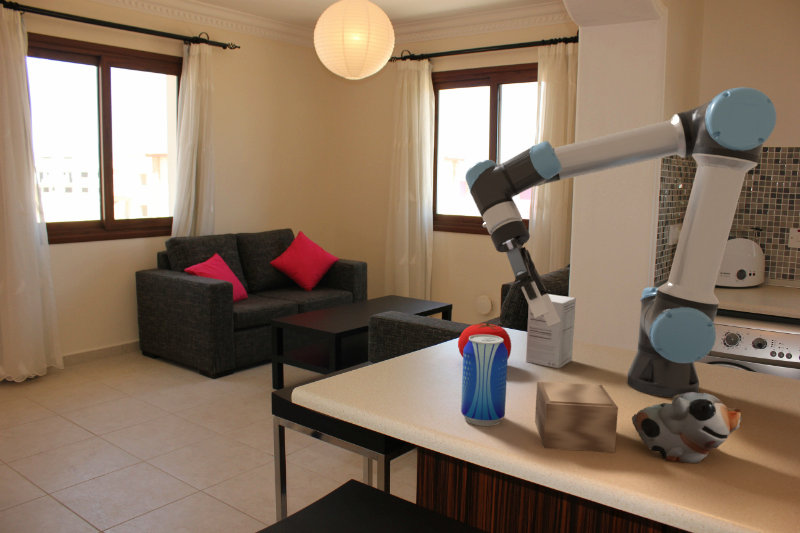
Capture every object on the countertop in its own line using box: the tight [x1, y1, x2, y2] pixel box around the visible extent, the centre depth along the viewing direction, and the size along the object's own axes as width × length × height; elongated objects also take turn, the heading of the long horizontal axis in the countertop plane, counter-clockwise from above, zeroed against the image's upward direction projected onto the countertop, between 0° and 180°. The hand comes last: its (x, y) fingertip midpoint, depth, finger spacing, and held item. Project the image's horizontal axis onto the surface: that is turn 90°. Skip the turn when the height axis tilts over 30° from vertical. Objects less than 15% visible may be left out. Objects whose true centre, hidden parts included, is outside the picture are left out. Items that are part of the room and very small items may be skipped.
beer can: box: [460, 334, 509, 427], centre depth 119 cm, size 8×8×16 cm
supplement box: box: [525, 293, 577, 369], centre depth 160 cm, size 10×9×17 cm
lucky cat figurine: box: [631, 392, 743, 464], centre depth 106 cm, size 15×12×14 cm
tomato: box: [457, 322, 512, 359], centre depth 155 cm, size 12×13×11 cm
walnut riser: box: [534, 381, 619, 453], centre depth 112 cm, size 12×12×8 cm
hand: (548, 320), depth 123 cm, fingers open, 13 cm apart
